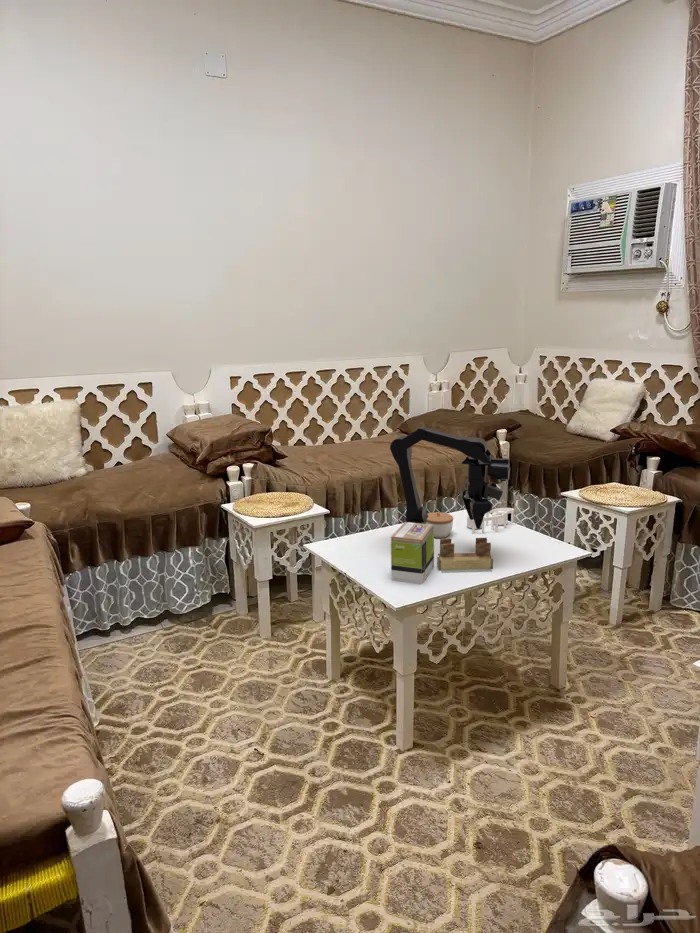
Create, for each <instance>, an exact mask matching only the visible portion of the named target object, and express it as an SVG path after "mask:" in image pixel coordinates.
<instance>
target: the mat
mask: <svg viewBox="0 0 700 933" xmlns="http://www.w3.org/2000/svg"><path fill="white" fill-rule="evenodd" d="M440 572H441V574H446V573H447V574H449V573H450V574H451V573H452V574H453V573H482V572H483V573H486V572H488V573H489V572H491V573H492V572H493V569H461V570H441V571H440Z"/></svg>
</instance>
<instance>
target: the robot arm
mask: <svg viewBox="0 0 700 933" xmlns="http://www.w3.org/2000/svg"><path fill="white" fill-rule="evenodd" d="M420 441H425V442H427V443H428V442H429V443H432V444H435V445H436V444H437V445H439V446H443V447H447V448H450V449H454V450H457V451H459V452H460V453H461V454H463V455H465V456H466V457H465V458H464V459H463V460H462V461H461V464H462V465H467V478H465V483H466V484H467V485H466V487H462V488H461V489H460V497H461V500H462V502H463V505H464V508H465V510H466V512H467V515H468V516H469V518H470V520H473V519H474V522H475V525H476V528H478V529H481V528H480V527H481V524H482V521H483V518H484V517H485V516H486V513H487V512H490V510H493V503H491V501H490V500H489V499H488V498H492V499H495V500H496V501H501V498H502V497H503V494H504V491H503V490H502V489H501V488H500V487H497V484H496V482H493V481H490V482H487V481H486V476H488V478H490V479H491V480H503V481H509V480H510V472H511V467H510V458H499V457H498V458H496V457H494V456H493V454H492V452H491V451H490V450H489V449H488V443H487V441H486V440H485V439H484V438H482V437H481V438H480V437H472V436H466V437H465V436H458V435H455V434H450V433H447V432H443V431H440V430H436V429H433V428H428V427H426V426H420V427H419V428H417V429H415V430H414V431H413V432H411V433H409V434H407V435H406V436H405V435H400V436H398V437H397V438H395V439H394V440H392V441H391V443H390V445H389V450H390V452H391V455H392V457H393V460H395V463H396V464H397V466H398V469H399V470H398V471H399V476H400V478H401V479H400V480H401V485H402V489H403V495H404V500H405V504H406V510H405V522H410V523H421V524H426V522H427V518H428V515H427V514H428V512H427V506H426V505H423V506H422V504H421V502H420V499H419V494H418V491H417V486H416V480H415V475H414V471H413V465H412V455H413V446H415V445H416V444H418V443H419V442H420Z"/></svg>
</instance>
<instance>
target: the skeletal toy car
mask: <svg viewBox="0 0 700 933" xmlns="http://www.w3.org/2000/svg"><path fill="white" fill-rule="evenodd" d="M489 514H491V516H489ZM509 514H511V515H510V517H511V518H510V524H511V523H512V524H513V525H514V515H515V508H512V507H497V508H494V509H493V508H492V510H490V512H487V513H486V514H485V516H484V518H483V521H482V524H481V527H480V528H476V525H475V522H474V519H473V520H470V518H469V516H468V514H467V516H466V527H467V528H469V529H471V530H472V532H471V534H472V535H475V534H476V533H475V532H476V531H475V529H476V530H478V529H481V535H485V527H488V526H489V521H491V530H490V531H494V529H495V531H494V532H493V534H496V533H499V531H498V530H499V526H503V529H507V525H508V517H509V516H508V515H509ZM512 524H511V525H512ZM489 534H492V532H490V533H488V532H487V533H486V535H489Z"/></svg>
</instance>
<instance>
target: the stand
mask: <svg viewBox="0 0 700 933" xmlns="http://www.w3.org/2000/svg"><path fill="white" fill-rule="evenodd" d="M491 547H492V543H491V542H488V537H475V550H474V551H475V552H455V543H452V538H439V553H437V557H439V558H442V557H486V556H491Z"/></svg>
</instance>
